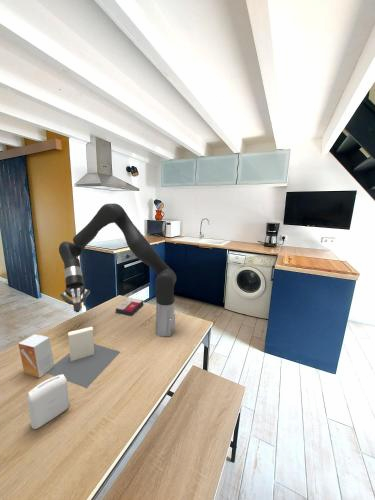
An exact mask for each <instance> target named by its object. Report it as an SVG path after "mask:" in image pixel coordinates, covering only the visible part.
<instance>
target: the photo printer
mask: <svg viewBox="0 0 375 500" xmlns="http://www.w3.org/2000/svg"><path fill="white" fill-rule="evenodd" d="M26 399H27V408H28V414H29V420H30V426H31V428H32V429H34V430H38V429H39V428H40V427H42V426H44V425H45V424H47V423H48V422H50V421H52V420H53V419H55V418H56V417H57V416H60V414H62V413H63V412H65V411H66V410H67V409H69V407H70V399H69V389H68V381H67V379H66V378H65V376H64V374H62V375H58V376H53V377H50V378H49V379H46V380H44V381H42V382H41V383H39V384H37V385H36V386H35V387H33V388H32V389H31V390H30V391H29V392H28V393H27V398H26Z"/></svg>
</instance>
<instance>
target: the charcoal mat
mask: <svg viewBox="0 0 375 500" xmlns="http://www.w3.org/2000/svg"><path fill="white" fill-rule="evenodd" d="M120 353H121V351H119V350H116V349H113V348H110V347H106V346H102V345H99V344H95V343H94V354H93V355H90V356H87V357H83V358H80V359H77V360H74V361H71V360H70V352H68V353H67V354H66V355H65V356H63V357H62V358H61V359H59V360H58V361H57V362H56V363H54V367H53V368H52V369H50V370H49V371H48V372H46V373H45V374H48V375H50V376H53V377H55V376H58V375H62V374H64V376H65V378H66V379H67V382H69V383H71V384H75V385H77V386H79V387H83V388H85V389H88V387H89V386H90V385H91V384H93V382H94V381H95V380H96V379H97V378H98V377H99V376H100V375H101V374H102V373H103V372H104V370H106V368H108V367H109V365H110V364H111V363H112V362H113V361H114V360H115V359H116V357H118V356H119V354H120Z"/></svg>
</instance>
